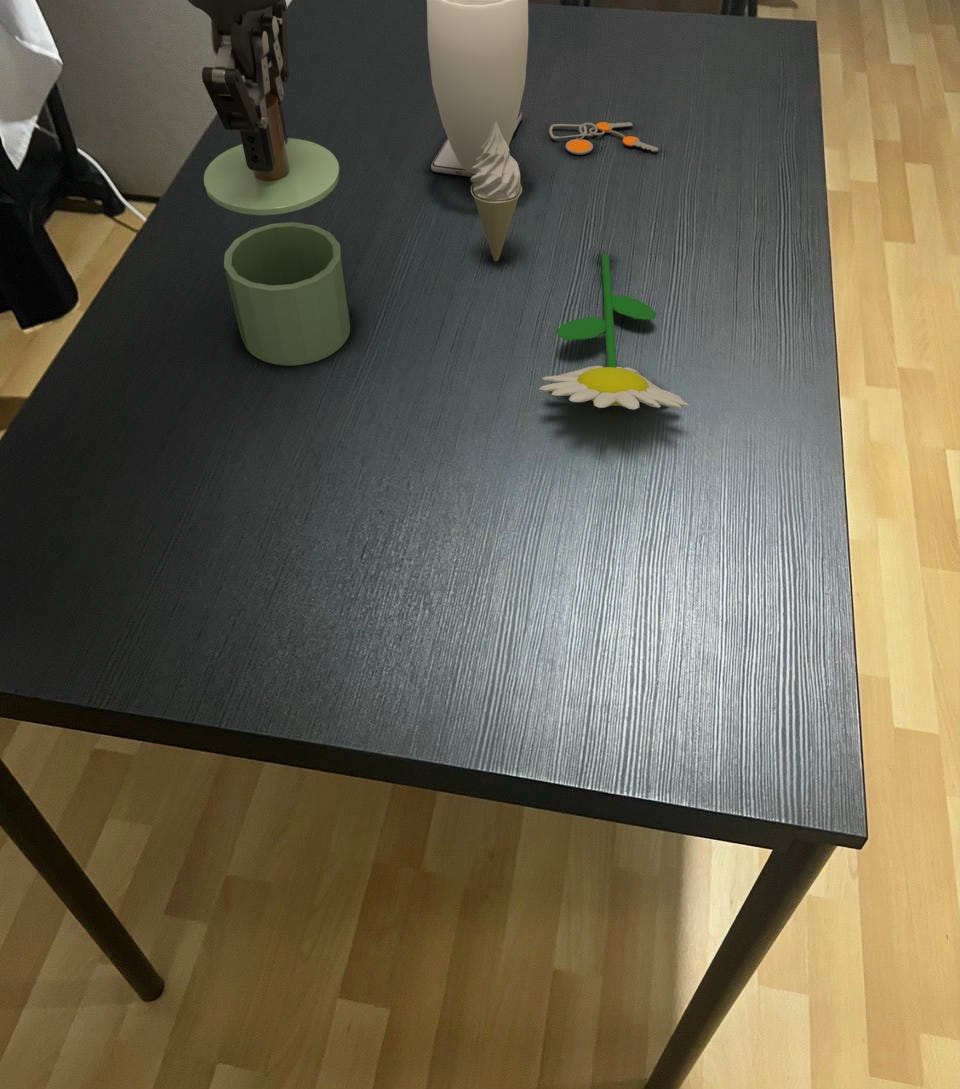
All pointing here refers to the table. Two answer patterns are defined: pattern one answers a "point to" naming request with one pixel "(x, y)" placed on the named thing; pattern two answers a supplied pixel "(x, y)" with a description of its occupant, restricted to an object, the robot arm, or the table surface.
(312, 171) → the lid
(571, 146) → the key chain
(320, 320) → the tin
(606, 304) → the decorative flower
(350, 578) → the table surface
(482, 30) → the cream vase
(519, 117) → the smartphone
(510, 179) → the ice cream cone
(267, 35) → the robot arm
